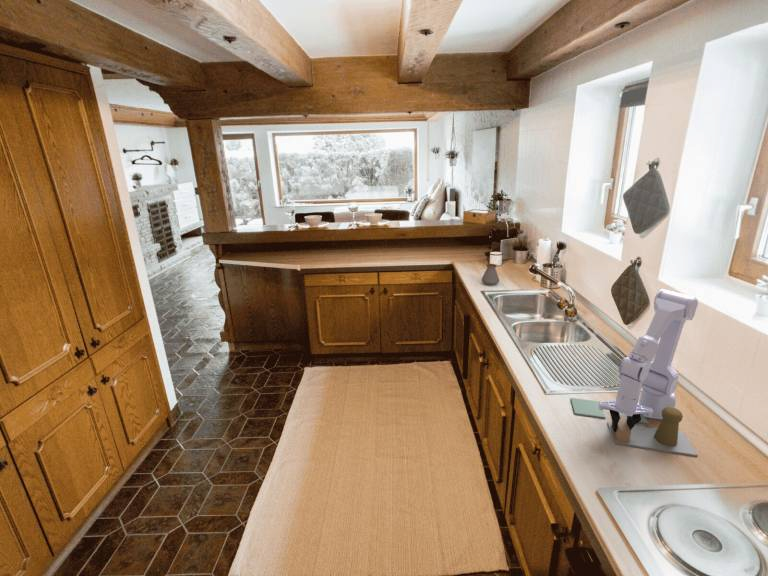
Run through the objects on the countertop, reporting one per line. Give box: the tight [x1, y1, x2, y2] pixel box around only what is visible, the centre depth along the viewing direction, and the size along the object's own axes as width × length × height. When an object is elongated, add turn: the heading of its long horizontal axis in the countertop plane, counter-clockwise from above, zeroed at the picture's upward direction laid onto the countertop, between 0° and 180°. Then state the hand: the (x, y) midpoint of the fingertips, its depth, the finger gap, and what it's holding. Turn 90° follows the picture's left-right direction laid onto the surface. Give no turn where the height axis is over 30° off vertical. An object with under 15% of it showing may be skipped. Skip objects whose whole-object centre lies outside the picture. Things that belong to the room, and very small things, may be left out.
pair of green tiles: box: [570, 397, 648, 425], centre depth 139 cm, size 22×9×1 cm, turn 75°
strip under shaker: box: [607, 415, 699, 457], centre depth 126 cm, size 22×10×5 cm, turn 75°
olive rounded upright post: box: [654, 407, 684, 446], centre depth 123 cm, size 6×6×11 cm
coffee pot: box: [481, 255, 500, 287], centre depth 267 cm, size 21×12×15 cm, turn 177°
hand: (620, 430), depth 128 cm, fingers closed on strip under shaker, 3 cm apart
